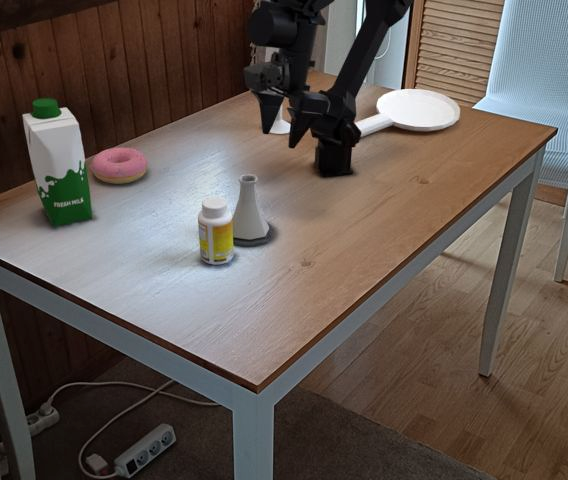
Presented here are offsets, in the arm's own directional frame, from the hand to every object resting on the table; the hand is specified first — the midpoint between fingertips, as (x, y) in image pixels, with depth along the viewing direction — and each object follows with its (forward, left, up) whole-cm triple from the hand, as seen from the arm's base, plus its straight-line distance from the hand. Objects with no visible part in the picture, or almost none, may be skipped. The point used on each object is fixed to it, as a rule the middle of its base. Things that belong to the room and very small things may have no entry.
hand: (278, 141), depth 134 cm
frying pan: (-34, -26, -11) cm, 45 cm away
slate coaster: (+9, +12, -11) cm, 18 cm away
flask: (+8, +11, -11) cm, 18 cm away
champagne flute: (-9, -32, -11) cm, 35 cm away
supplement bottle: (+16, +18, -11) cm, 26 cm away
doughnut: (+28, -17, -11) cm, 34 cm away
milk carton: (+39, -3, -11) cm, 40 cm away
